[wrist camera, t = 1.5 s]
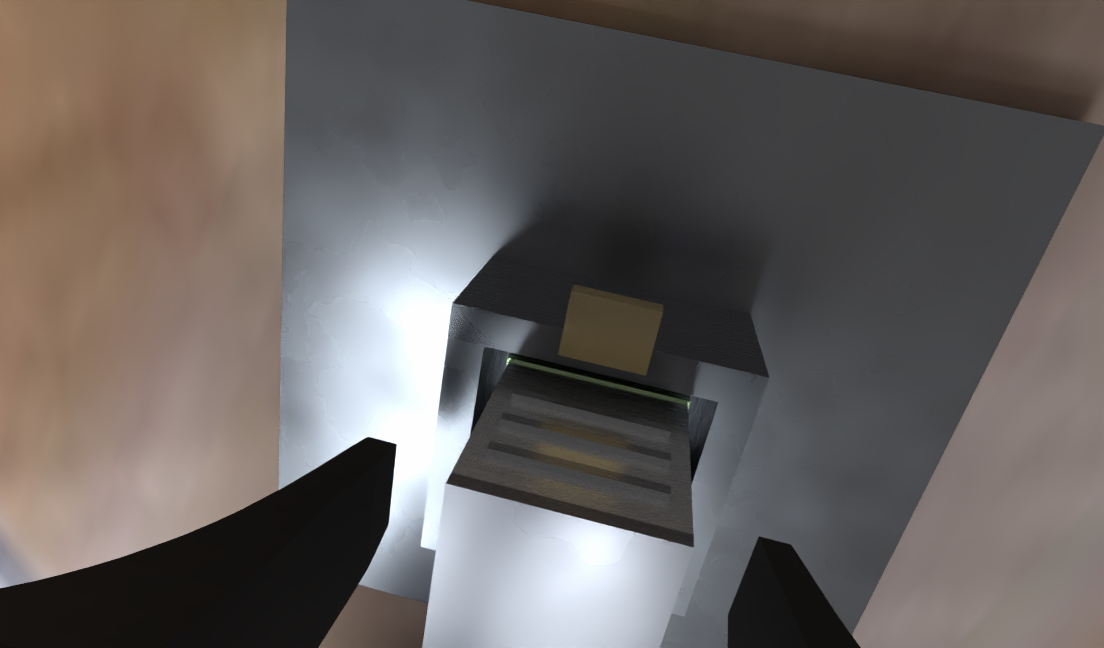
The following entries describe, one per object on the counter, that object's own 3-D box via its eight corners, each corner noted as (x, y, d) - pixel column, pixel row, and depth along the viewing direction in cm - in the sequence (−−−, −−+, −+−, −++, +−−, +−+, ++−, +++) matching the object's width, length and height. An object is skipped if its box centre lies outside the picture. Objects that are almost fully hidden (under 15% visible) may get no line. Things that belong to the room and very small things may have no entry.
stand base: (808, 681, 22) (843, 843, 17) (292, 542, 23) (203, 658, 19) (1080, 121, 15) (1259, 153, 10) (308, -31, 16) (169, -62, 12)
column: (649, 480, 19) (637, 721, 12) (507, 444, 19) (417, 660, 12) (688, 346, 17) (700, 540, 10) (531, 310, 17) (443, 474, 11)
